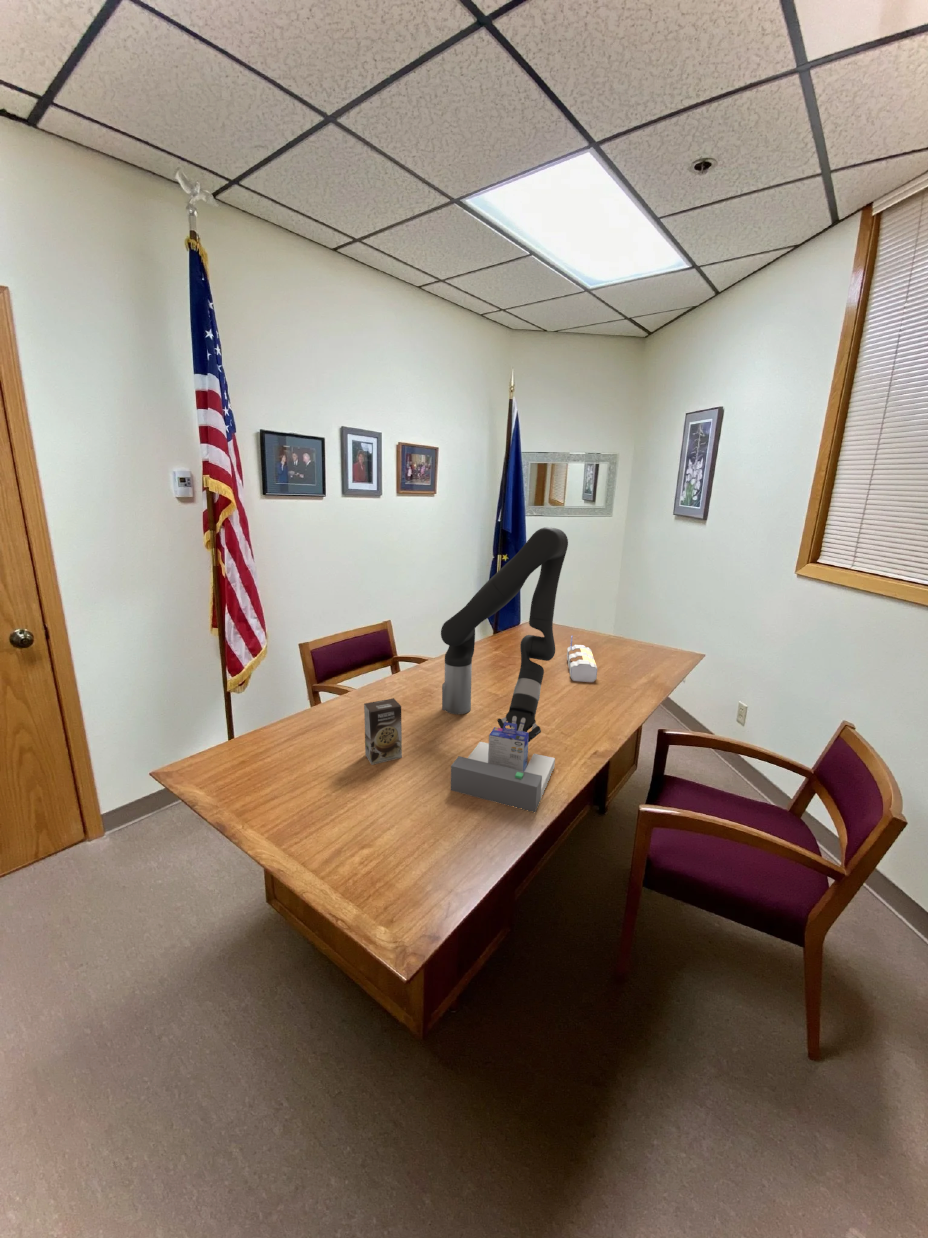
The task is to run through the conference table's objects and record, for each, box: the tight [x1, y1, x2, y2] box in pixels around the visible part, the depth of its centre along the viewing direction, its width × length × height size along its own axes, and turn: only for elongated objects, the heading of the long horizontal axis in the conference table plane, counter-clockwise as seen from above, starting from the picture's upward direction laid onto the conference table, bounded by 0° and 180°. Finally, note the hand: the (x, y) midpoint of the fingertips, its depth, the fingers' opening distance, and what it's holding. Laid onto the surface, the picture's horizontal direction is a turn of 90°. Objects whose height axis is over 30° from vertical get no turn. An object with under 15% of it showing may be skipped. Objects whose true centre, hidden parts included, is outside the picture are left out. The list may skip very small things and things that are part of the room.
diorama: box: [566, 635, 598, 683], centre depth 205 cm, size 25×10×13 cm, turn 172°
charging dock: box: [450, 741, 556, 813], centre depth 127 cm, size 22×21×8 cm
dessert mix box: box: [363, 697, 403, 766], centre depth 135 cm, size 9×6×16 cm
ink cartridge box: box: [488, 722, 529, 771], centre depth 128 cm, size 10×6×14 cm, turn 71°
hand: (511, 756), depth 131 cm, fingers closed
